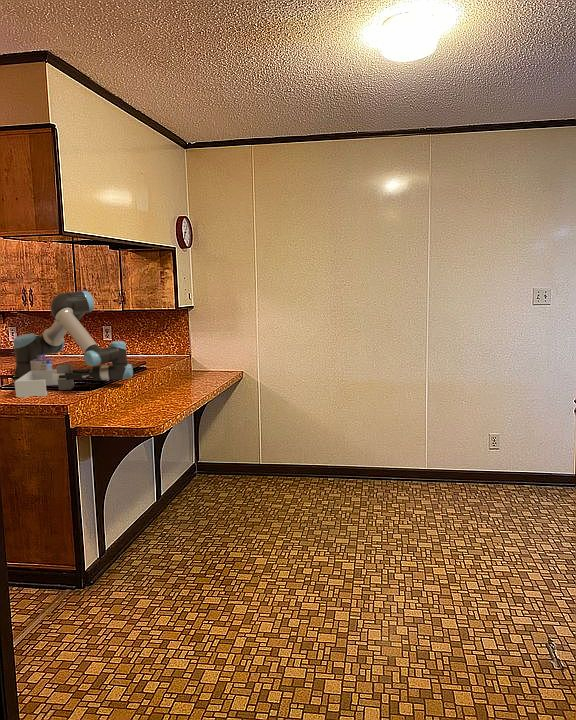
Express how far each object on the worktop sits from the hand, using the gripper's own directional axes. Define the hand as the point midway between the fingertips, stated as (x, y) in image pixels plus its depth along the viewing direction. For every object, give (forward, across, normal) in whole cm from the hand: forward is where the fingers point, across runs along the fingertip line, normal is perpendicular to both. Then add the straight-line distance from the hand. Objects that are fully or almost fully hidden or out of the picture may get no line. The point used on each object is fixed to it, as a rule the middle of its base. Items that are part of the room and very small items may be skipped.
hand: (54, 375), depth 316 cm
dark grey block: (-5, 0, -7) cm, 9 cm away
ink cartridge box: (+12, +20, -8) cm, 25 cm away
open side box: (+8, 0, -8) cm, 11 cm away
